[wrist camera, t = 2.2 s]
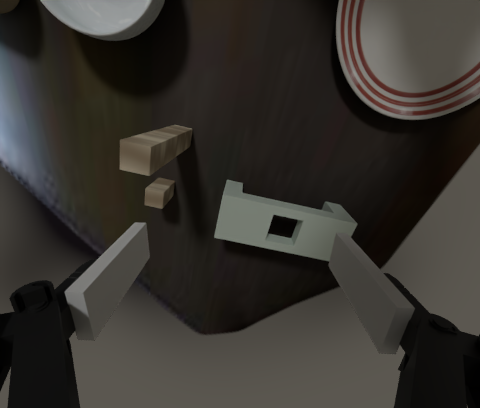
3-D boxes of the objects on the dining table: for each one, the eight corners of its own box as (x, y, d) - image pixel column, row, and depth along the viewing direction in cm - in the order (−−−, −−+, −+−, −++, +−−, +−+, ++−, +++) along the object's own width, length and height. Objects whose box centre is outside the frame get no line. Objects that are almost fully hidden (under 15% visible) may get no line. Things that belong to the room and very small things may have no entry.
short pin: (158, 177, 42) (145, 188, 37) (174, 181, 42) (163, 192, 37) (157, 192, 44) (144, 204, 38) (173, 195, 44) (162, 208, 38)
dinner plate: (437, 146, 39) (454, 149, 36) (295, 73, 35) (299, 70, 32) (598, -60, 28) (641, -80, 25) (419, -194, 25) (443, -236, 22)
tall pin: (175, 124, 38) (120, 139, 22) (192, 128, 39) (150, 146, 22) (173, 142, 40) (119, 169, 23) (190, 146, 40) (149, 175, 23)
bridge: (227, 179, 42) (223, 194, 35) (340, 204, 43) (357, 223, 36) (219, 217, 45) (214, 237, 38) (324, 239, 46) (338, 263, 40)
